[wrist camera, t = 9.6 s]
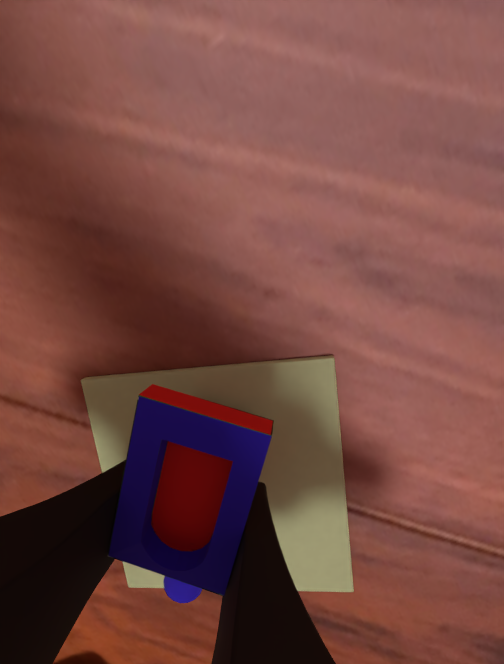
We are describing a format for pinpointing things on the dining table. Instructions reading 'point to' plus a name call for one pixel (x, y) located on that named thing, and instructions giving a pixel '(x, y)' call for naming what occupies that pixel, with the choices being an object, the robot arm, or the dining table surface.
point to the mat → (281, 460)
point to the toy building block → (188, 489)
